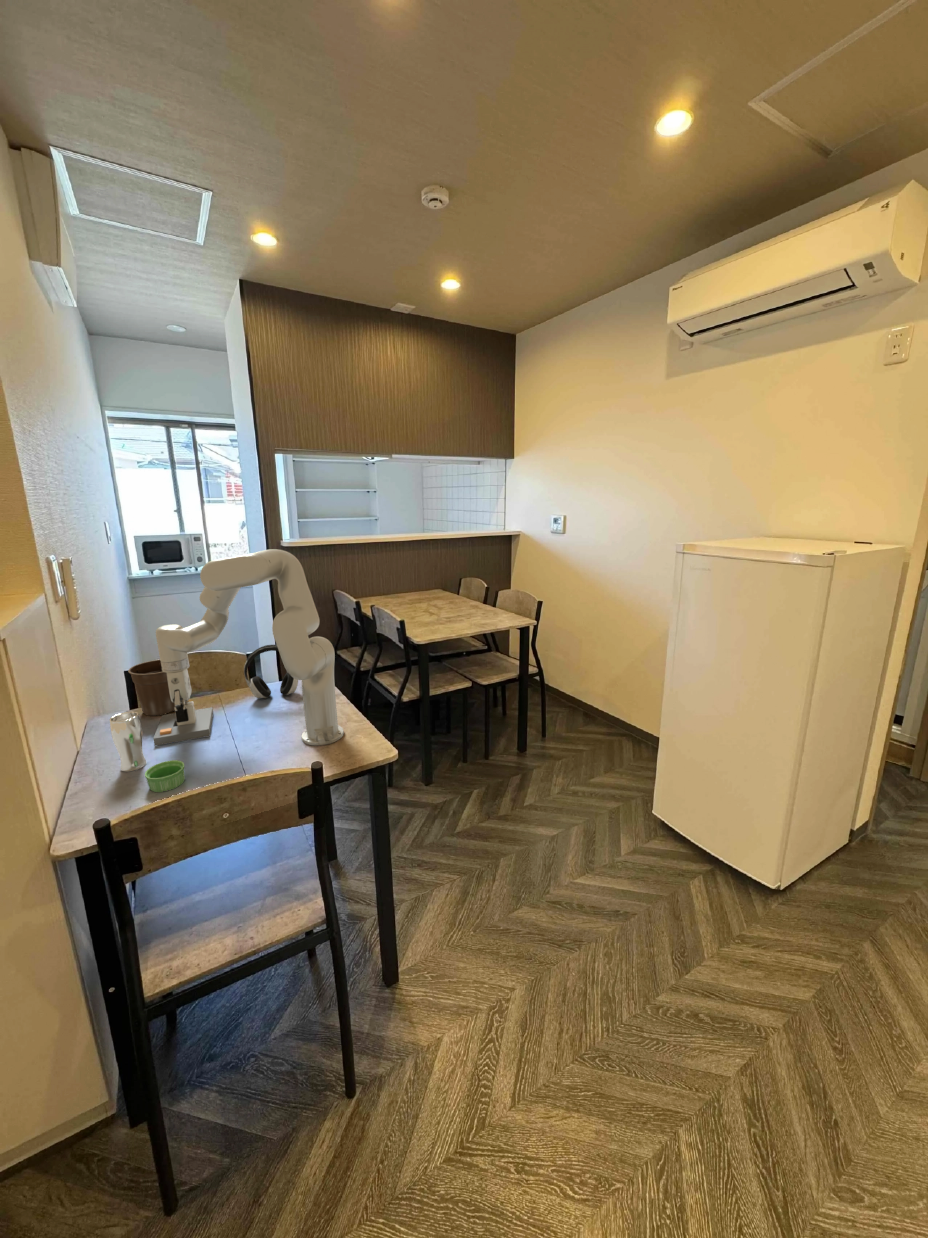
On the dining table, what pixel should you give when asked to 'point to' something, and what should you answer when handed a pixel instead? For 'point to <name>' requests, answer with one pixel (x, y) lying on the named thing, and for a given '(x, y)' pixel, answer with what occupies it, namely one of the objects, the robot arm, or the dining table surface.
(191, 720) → the plug
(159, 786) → the ramekin
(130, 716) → the beer glass
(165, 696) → the plant pot
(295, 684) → the headphones
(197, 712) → the socket
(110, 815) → the dining table surface
